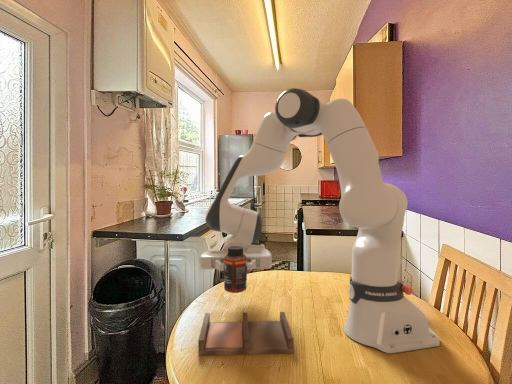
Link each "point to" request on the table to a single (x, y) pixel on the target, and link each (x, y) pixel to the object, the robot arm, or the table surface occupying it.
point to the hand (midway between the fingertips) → (235, 267)
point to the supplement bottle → (235, 270)
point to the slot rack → (245, 337)
